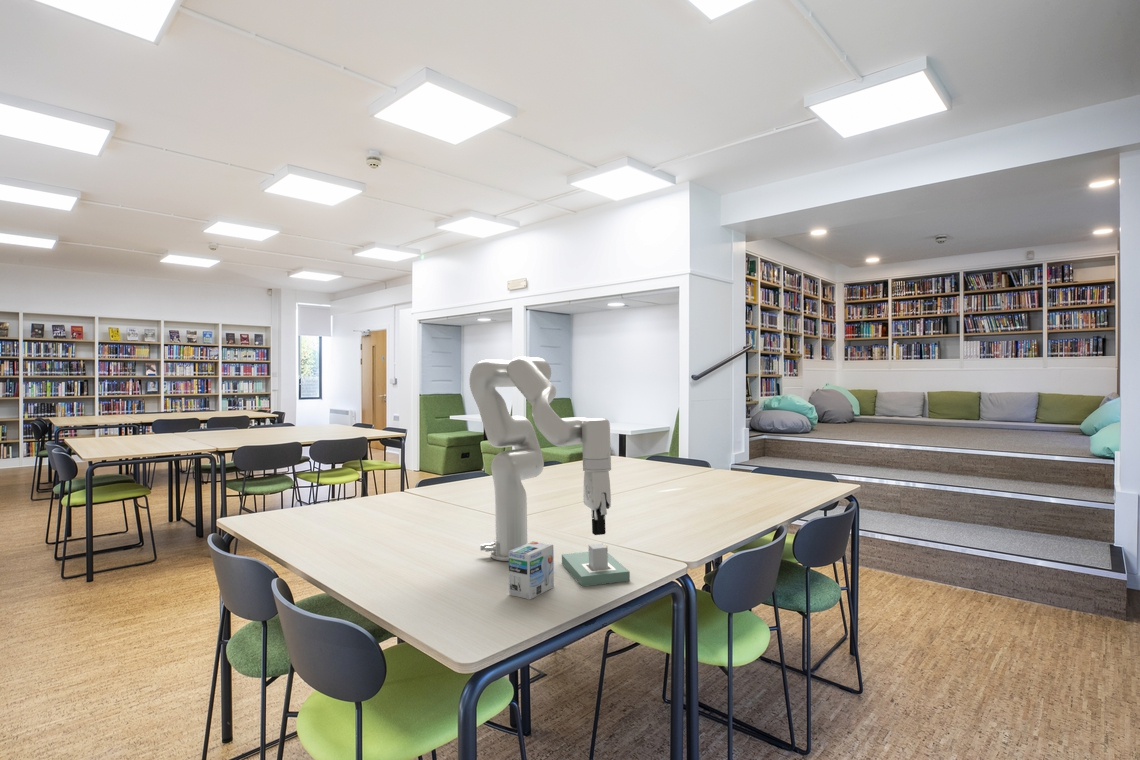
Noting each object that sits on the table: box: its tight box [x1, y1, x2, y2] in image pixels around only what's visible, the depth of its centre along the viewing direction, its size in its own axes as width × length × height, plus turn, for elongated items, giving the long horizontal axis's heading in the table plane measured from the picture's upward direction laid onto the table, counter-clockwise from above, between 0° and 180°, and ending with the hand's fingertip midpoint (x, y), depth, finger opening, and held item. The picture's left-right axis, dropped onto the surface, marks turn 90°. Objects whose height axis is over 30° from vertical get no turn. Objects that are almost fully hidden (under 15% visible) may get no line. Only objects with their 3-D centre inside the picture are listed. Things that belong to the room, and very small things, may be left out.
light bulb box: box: [508, 541, 555, 600], centre depth 139 cm, size 11×7×11 cm, turn 148°
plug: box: [588, 543, 609, 571], centre depth 149 cm, size 4×4×8 cm
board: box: [561, 551, 631, 587], centre depth 153 cm, size 13×20×2 cm, turn 15°
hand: (598, 533), depth 149 cm, fingers closed
